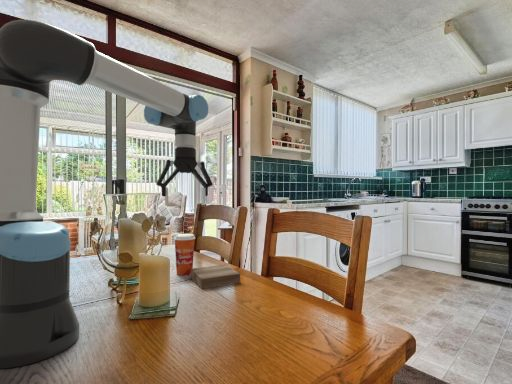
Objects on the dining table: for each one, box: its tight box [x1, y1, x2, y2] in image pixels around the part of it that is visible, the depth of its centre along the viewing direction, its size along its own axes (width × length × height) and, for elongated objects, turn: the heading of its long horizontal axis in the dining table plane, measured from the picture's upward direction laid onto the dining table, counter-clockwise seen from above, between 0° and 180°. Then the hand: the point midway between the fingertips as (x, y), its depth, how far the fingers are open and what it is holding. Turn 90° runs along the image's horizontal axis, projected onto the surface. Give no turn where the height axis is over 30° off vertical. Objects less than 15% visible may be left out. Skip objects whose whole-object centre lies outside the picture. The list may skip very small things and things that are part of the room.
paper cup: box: [173, 233, 196, 276], centre depth 105 cm, size 8×8×14 cm
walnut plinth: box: [190, 264, 241, 289], centre depth 96 cm, size 13×13×3 cm
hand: (185, 205), depth 105 cm, fingers open, 13 cm apart
